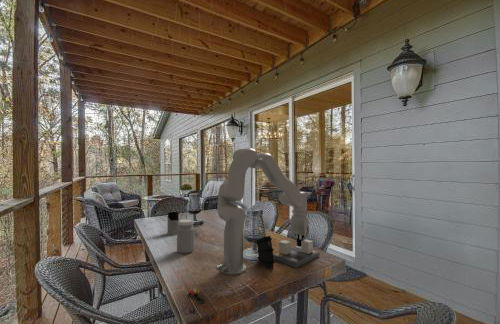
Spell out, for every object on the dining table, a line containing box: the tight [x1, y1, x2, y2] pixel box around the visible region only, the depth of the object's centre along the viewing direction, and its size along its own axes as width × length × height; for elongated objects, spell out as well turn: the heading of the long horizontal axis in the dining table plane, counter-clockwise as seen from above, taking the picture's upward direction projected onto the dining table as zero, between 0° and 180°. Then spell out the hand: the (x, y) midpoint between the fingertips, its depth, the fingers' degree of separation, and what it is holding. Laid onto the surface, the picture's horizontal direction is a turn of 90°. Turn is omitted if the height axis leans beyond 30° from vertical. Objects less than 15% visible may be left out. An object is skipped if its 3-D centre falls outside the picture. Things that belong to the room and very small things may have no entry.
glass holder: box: [166, 211, 188, 236], centre depth 183 cm, size 9×14×15 cm, turn 115°
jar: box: [176, 218, 195, 255], centre depth 145 cm, size 10×10×18 cm
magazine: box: [255, 235, 276, 270], centre depth 128 cm, size 4×13×15 cm, turn 26°
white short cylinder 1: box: [278, 239, 292, 255], centre depth 136 cm, size 4×4×6 cm
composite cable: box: [187, 286, 206, 305], centre depth 95 cm, size 10×5×2 cm, turn 29°
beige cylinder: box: [301, 238, 314, 254], centre depth 138 cm, size 4×4×6 cm
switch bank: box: [273, 244, 320, 268], centre depth 137 cm, size 22×15×3 cm
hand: (299, 245), depth 141 cm, fingers closed
